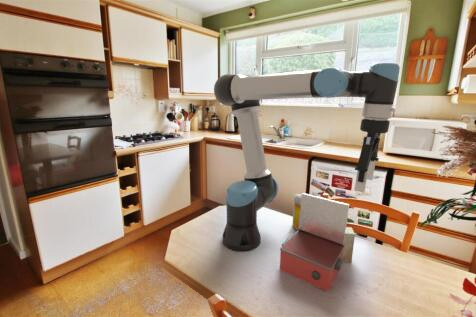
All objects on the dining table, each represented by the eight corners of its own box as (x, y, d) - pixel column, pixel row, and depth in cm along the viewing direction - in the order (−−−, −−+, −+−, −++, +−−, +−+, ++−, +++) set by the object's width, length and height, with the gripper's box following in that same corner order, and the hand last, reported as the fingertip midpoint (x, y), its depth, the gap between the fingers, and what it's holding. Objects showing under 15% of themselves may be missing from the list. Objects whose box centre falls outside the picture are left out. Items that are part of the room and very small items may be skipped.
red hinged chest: (274, 269, 83) (275, 248, 81) (293, 247, 94) (294, 228, 92) (332, 295, 72) (335, 272, 70) (345, 267, 83) (348, 247, 81)
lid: (302, 193, 88) (303, 192, 89) (298, 230, 91) (299, 229, 92) (348, 205, 79) (349, 203, 80) (342, 246, 82) (343, 243, 83)
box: (351, 263, 86) (355, 234, 83) (338, 261, 86) (341, 233, 84) (348, 253, 91) (351, 226, 88) (335, 252, 91) (339, 225, 89)
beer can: (308, 230, 106) (310, 198, 102) (293, 230, 106) (296, 198, 102) (304, 223, 112) (307, 192, 108) (291, 223, 112) (293, 192, 108)
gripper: (384, 123, 62) (369, 201, 68) (394, 116, 81) (382, 177, 87) (352, 120, 66) (341, 193, 72) (369, 114, 86) (359, 172, 92)
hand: (363, 184), depth 80 cm, fingers open, 13 cm apart
